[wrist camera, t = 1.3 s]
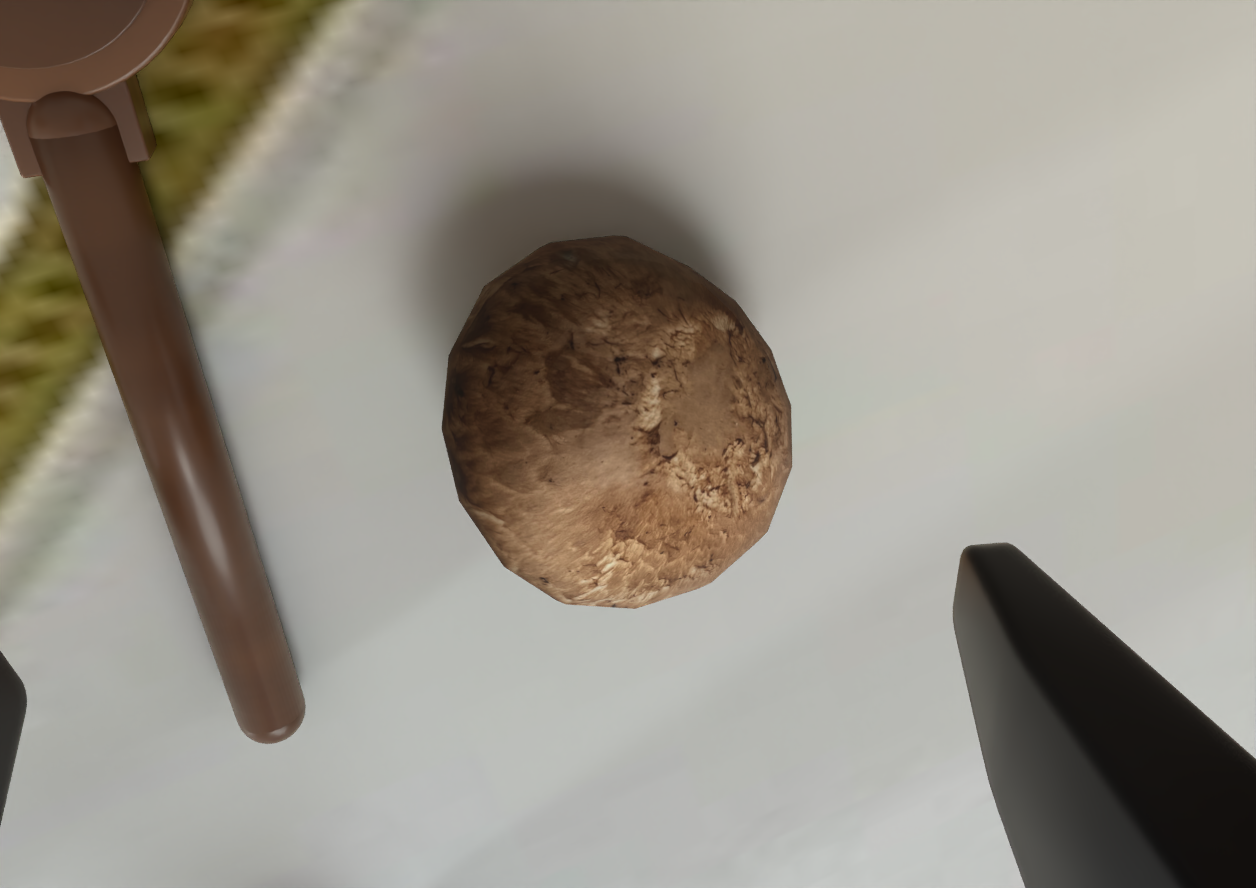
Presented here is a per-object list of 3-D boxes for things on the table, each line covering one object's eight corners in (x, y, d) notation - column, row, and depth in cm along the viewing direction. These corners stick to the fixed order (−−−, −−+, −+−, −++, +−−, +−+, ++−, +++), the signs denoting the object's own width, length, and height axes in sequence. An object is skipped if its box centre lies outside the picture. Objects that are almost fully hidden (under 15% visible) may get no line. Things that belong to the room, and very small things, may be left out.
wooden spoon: (399, 684, 28) (403, 726, 27) (156, 740, 27) (147, 787, 26) (146, -323, 17) (132, -337, 16) (-270, -293, 16) (-323, -306, 15)
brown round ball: (475, 679, 24) (629, 708, 19) (311, 354, 23) (426, 290, 18) (721, 512, 28) (901, 499, 23) (593, 230, 27) (754, 148, 22)
